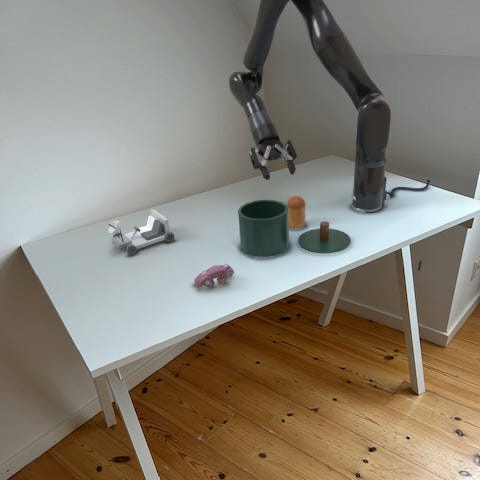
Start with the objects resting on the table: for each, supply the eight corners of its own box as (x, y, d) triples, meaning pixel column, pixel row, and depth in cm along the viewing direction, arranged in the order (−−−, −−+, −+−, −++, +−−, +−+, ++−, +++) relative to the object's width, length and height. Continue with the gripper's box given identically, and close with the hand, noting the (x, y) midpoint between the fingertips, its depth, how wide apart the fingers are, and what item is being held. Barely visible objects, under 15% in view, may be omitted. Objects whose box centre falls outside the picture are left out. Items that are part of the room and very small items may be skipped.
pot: (272, 232, 147) (270, 196, 140) (297, 249, 137) (297, 211, 130) (232, 244, 142) (229, 207, 136) (256, 263, 132) (254, 224, 126)
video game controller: (199, 296, 124) (201, 280, 118) (192, 282, 125) (194, 266, 119) (234, 285, 127) (237, 269, 121) (226, 271, 129) (229, 255, 123)
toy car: (112, 228, 134) (97, 215, 142) (119, 259, 140) (105, 245, 148) (170, 210, 142) (153, 198, 150) (175, 240, 147) (158, 228, 155)
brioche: (298, 221, 152) (298, 191, 147) (308, 226, 148) (308, 197, 143) (284, 225, 150) (283, 196, 145) (293, 231, 146) (293, 201, 141)
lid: (328, 227, 147) (329, 208, 144) (360, 245, 136) (362, 225, 133) (288, 240, 142) (288, 221, 138) (318, 260, 131) (319, 239, 128)
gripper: (245, 126, 145) (263, 174, 143) (287, 118, 150) (305, 165, 148) (239, 140, 153) (256, 186, 151) (279, 132, 157) (297, 177, 155)
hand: (281, 176), depth 149 cm, fingers open, 8 cm apart
